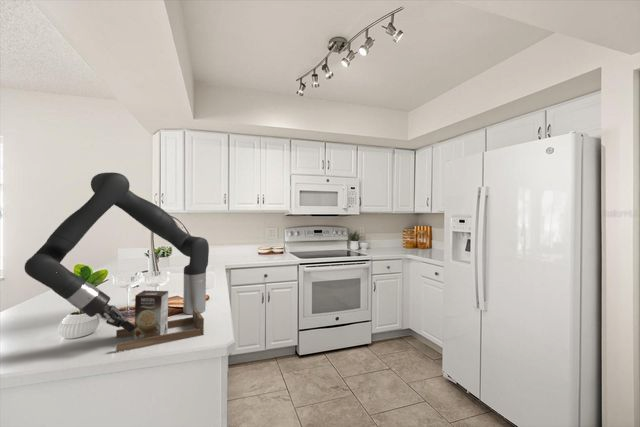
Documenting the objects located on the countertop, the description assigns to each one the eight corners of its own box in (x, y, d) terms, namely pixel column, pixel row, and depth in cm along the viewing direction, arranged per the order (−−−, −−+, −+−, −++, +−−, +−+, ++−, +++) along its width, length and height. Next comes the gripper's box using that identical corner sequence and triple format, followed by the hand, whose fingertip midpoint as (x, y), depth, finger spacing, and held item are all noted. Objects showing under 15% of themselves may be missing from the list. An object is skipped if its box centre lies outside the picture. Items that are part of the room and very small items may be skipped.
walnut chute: (116, 336, 109) (116, 320, 108) (195, 322, 123) (195, 307, 123) (116, 352, 97) (116, 334, 97) (203, 334, 112) (203, 318, 112)
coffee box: (133, 341, 105) (133, 295, 105) (142, 333, 112) (143, 290, 111) (160, 341, 106) (161, 295, 106) (168, 333, 112) (169, 290, 112)
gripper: (97, 294, 94) (142, 326, 101) (100, 285, 105) (140, 314, 112) (75, 314, 92) (123, 346, 99) (80, 302, 103) (123, 331, 110)
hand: (132, 329), depth 106 cm, fingers closed
